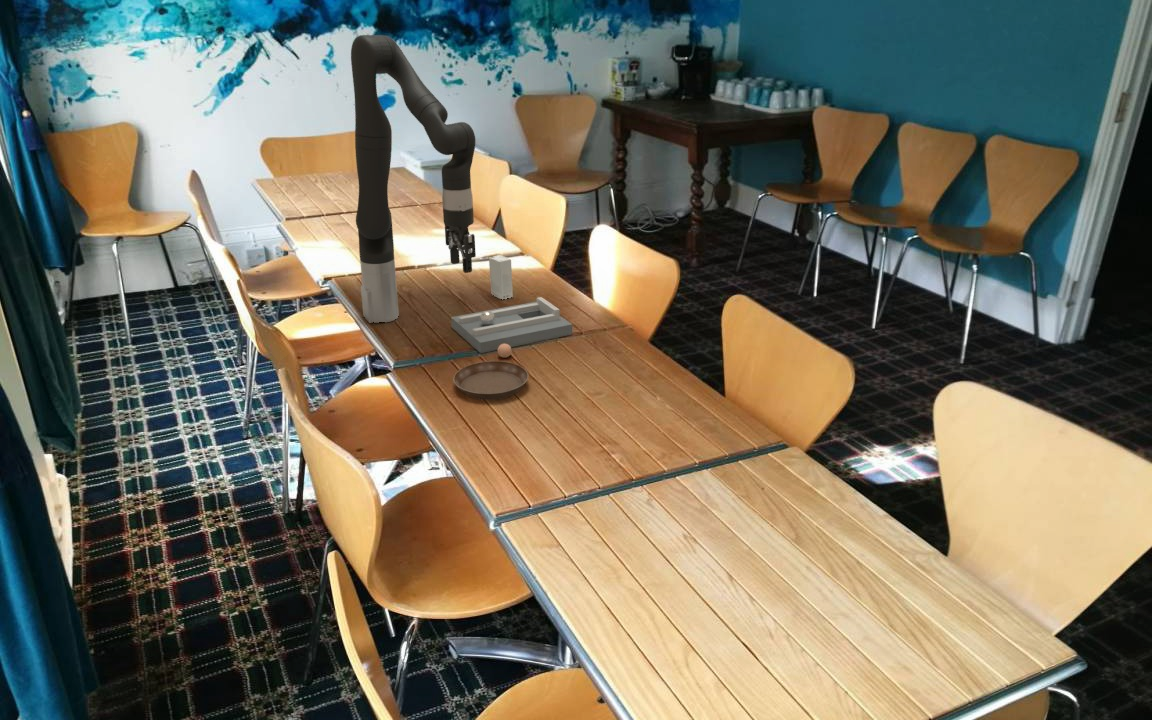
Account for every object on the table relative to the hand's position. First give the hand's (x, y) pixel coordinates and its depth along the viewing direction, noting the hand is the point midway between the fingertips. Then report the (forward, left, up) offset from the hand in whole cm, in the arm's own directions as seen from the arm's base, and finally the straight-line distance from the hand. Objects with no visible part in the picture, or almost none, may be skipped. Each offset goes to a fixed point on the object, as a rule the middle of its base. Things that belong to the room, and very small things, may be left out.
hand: (461, 267), depth 226 cm
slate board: (+14, 0, -20) cm, 24 cm away
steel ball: (+7, 0, -15) cm, 17 cm away
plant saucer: (-5, -29, -21) cm, 36 cm away
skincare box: (+23, +26, -20) cm, 40 cm away
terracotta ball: (+5, -15, -18) cm, 24 cm away
